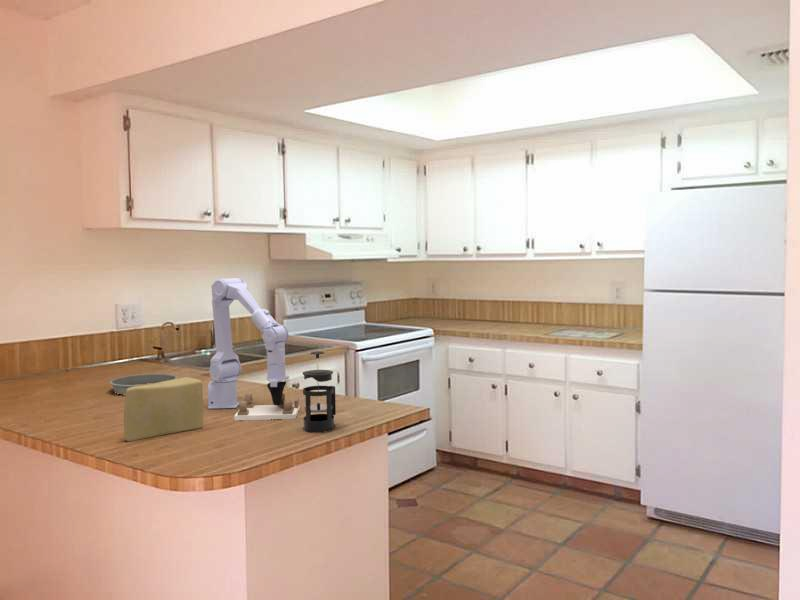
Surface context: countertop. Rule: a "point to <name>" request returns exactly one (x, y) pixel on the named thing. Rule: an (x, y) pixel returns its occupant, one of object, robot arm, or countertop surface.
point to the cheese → (163, 408)
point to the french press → (318, 420)
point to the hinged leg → (283, 402)
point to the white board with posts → (266, 410)
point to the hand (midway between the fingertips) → (277, 404)
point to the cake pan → (138, 381)
